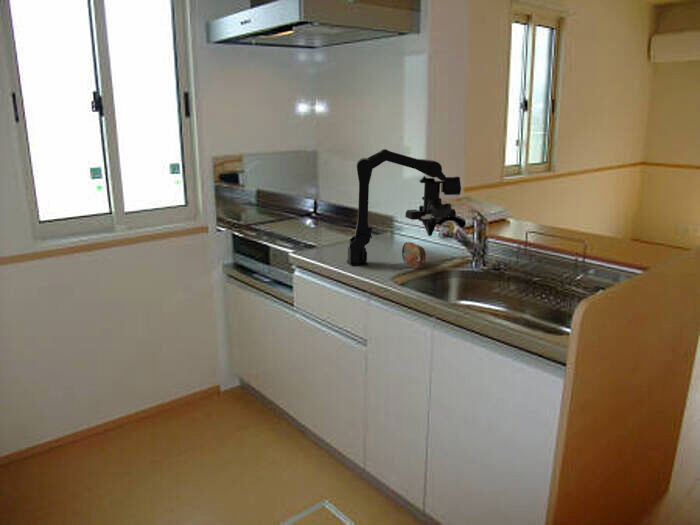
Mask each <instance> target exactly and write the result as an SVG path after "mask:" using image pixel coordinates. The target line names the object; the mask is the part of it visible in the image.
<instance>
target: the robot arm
mask: <svg viewBox="0 0 700 525" xmlns="http://www.w3.org/2000/svg"><path fill="white" fill-rule="evenodd" d="M384 162H389V163H392V164H396V165H399V166H402V167H403V166H404V167H407V168H412V169H413V170H417V171H419V172H421V173H422V174H424V175H423V177H422V178H420V179H419V180H418V181H419V183H421V184H424V185H423V186H424V191H423V196H422V197H421V199H422V200H423V207H421V211H420V210H418V209H415V208H414V209H407V210H406V211H405V218H406V219H409V220H412V221H416V220H421V222H422V223H423V225H424V228H425V231H426V233H427V236H429V237H432V235H433V233H434V231H435V228H436V225H437V224H438V223H439V222H440V221H442V220H443V219H444V218H446V217H447V218H456V216H457V211H456V209H455V208H453V207H452V204H451V203H444V204H443V203H442V198H441V197H440V192H441V193H443V195H444V196H460V195H461V191H462V186H461V177H460V176H446V174H444V172H443V167H442V164H441V163H439V162H438V161H436V160H434V159H427V158H426V159H423V158H422V159H421V158H416V157H412V156H409V155H404V154H402V153H399V152H398V153H397V152H394V151H391V150H389V149H387V148H383V149H381V150H379V151H378V152H376V153H375V154H373V155H371V156H369V157H361V158H360V159H359V160H357V163H356V172H357V177H358V209H357V210H358V212H357V222H356V227H355V231H354V235H353V236H352V237H351V238H350V239H349V240H348V241H349V242H348V243H349V245H348V246H349V247H347V260H346V263H348V264H349V265H350V266H351V267H352V266H363V265H368V262H367V261H368V251H367V248H366V246H367V245H368V244H369V243H370V241H371V239H372V238H373V237H372V236H373V235H372V232H373V225H372V224H371V223H369V220H368V219H369V218H368V217H369V197H370V196H369V192H370V191H369V190H370V181H371V179H372V174H373V173H372V172H373V169H375V168H377V167H378V166H380V165H382V164H383V163H384ZM425 175H426V176H428V177H426V176H425ZM435 178H437V179H438V180H436V179H435Z"/></svg>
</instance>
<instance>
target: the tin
mask: <svg viewBox="0 0 700 525" xmlns="http://www.w3.org/2000/svg"><path fill="white" fill-rule="evenodd" d="M401 249H402V250H401V255H402V260H403V263H406V264H408V265H410V266H412V268H413V269H421V268H423V267H424V266H425V264H426V256H427V254H426V250H425V248H424V247H423V246H421V245H419V244H416V243H414V242H407V241H406V242H404V244H403V246H402V248H401Z"/></svg>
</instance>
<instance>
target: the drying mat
mask: <svg viewBox="0 0 700 525" xmlns="http://www.w3.org/2000/svg"><path fill="white" fill-rule="evenodd" d="M389 266H390V267H392V268H394V269H395V270H404V269H403V268H405V269H411V268H413V267H412V266H410V265H408V264H406V263H405V262H397V263H389Z"/></svg>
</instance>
